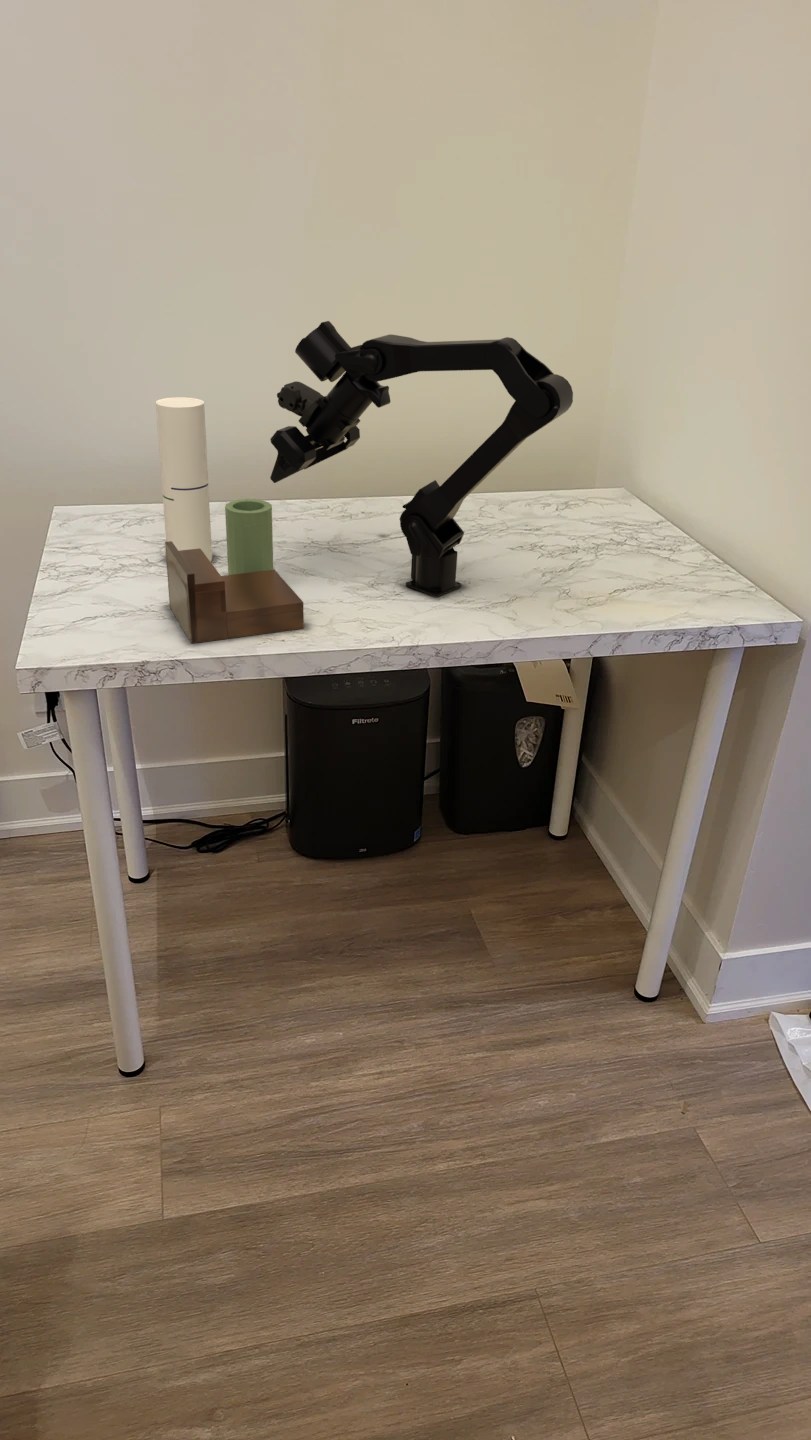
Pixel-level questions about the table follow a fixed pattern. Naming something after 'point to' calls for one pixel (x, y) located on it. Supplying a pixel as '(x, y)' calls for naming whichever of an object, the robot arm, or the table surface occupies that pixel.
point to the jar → (249, 536)
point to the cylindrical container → (184, 473)
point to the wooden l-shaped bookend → (227, 599)
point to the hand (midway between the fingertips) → (287, 473)
